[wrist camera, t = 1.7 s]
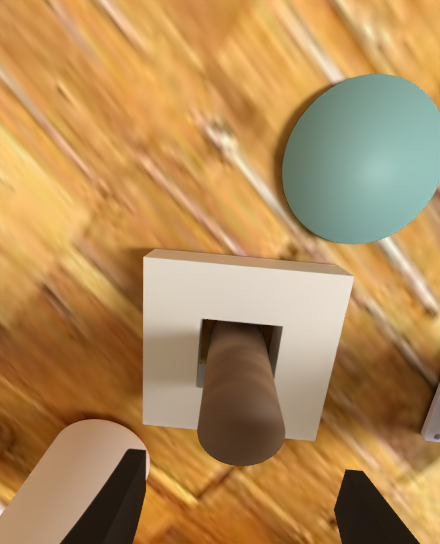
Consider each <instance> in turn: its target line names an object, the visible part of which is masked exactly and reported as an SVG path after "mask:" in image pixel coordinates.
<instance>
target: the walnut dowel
mask: <svg viewBox="0 0 440 544" xmlns="http://www.w3.org/2000/svg"><path fill="white" fill-rule="evenodd" d="M197 434H198V439H199V442H200V444H201V446H202V447H203V448H204V450H205V451H206V452H207V453H208V454H209V455H210V456H212V457H213V458H215V459H216V460H218V461H220V462H223V463H226V464H229V465H235V466H249V465H255V464H258V463H261V462H264V461H266V460H268V459H269V458H271V457H272V456H273V455H274V454H276V453H277V451H278V450H279V449H280V447H281V446H282V444H283V442H284V438H285V425H284V421H283V417H282V412H281V408H280V404H279V400H278V396H277V391H276V387H275V383H274V379H273V374H272V370H271V366H270V362H269V358H268V353H267V349H266V345H265V341H264V336H263V332H262V329H261V327H260V325H259V324H254V323H244V322H233V321H222V320H218V321H217V322H216V323H215V324H214V326H213V327H212V330H211V334H210V341H209V348H208V356H207V363H206V370H205V377H204V384H203V391H202V399H201V406H200V413H199V420H198V427H197Z"/></svg>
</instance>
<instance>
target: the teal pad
mask: <svg viewBox="0 0 440 544" xmlns="http://www.w3.org/2000/svg"><path fill="white" fill-rule="evenodd" d="M439 182H440V113H439V111H438V109H437V107H436V105H435V104H434V103H433V101H432V100H431V98H430V97H429V96H428V95H427V94H426V93H425V92H424V91H423V90H422V89H420V88H419V87H418V86H416V85H415V84H413V83H411V82H409V81H407V80H406V79H403V78H400V77H397V76H392V75H386V74H369V75H362V76H358V77H354V78H351V79H348V80H346V81H344V82H341V83H339V84H337V85H335V86H334V87H332V88H330V89H329V90H327V91H326V92H325V93H323V94H322V95H321V96H320V97H318V98H317V99H316V100H315V101H314V102H313V103H312V104H311V105H310V106H309V107H308V109H307V110H306V111H305V112H304V113H303V115H302V116H301V117H300V119H299V120H298V122H297V123H296V125H295V126H294V128H293V130H292V132H291V134H290V136H289V139H288V141H287V144H286V147H285V151H284V156H283V161H282V184H283V189H284V193H285V197H286V200H287V202H288V204H289V207H290V209H291V210H292V212H293V213H294V215H295V217H296V218H297V219H298V220H299V221H300V222H301V224H303V225H304V226H305V227H306V228H307V229H308V230H310V231H311V232H313V233H314V234H316V235H318V236H320V237H322V238H325V239H327V240H330V241H333V242H336V243H342V244H364V243H369V242H374V241H377V240H380V239H383V238H386V237H388V236H390V235H392V234H394V233H396V232H397V231H399V230H400V229H402V228H403V227H405V226H406V225H407V224H409V223H410V222H411V221H412V220H413V219H414V218H415V217H416V216H417V215H418V214H419V213H420V212H421V211H422V210H423V209H424V207H425V206H426V205H427V204H428V202H429V201H430V199H431V198H432V196H433V194H434V192H435V191H436V189H437V187H438V185H439Z"/></svg>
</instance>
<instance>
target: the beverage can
mask: <svg viewBox="0 0 440 544" xmlns="http://www.w3.org/2000/svg"><path fill="white" fill-rule="evenodd" d="M129 448H130V449H141V450H146V480H147V476H148V473H149V469H150V458H149V454H148V451H147V449H146V447H145V445H144V443H143V442H142V441H141V440H140V438H139V437H138V436H137V435H136V434H134V433H133V432H132V431H131V430H129V429H127V428H126V427H124V426H122V425H120V424H117V423H114V422H111V421H107V420H100V419H89V420H82V421H78V422H75V423H73V424H71V425H69V426H67V427H66V428H65V429H63V430H62V431H61V432H60V433H59V434H58V436H57V437H56V439H55V440H54V441H53V443H52V444H51V446H50V447H49V448H48V450H47V451H46V453H45V454H44V455H43V457H42V458H41V460H40V461H39V462H38V464H37V465H36V467H35V468H34V469H33V471H32V472H31V474H30V475H29V476H28V478H27V479H26V481H25V482H24V483H23V485H22V486H21V488H20V489H19V490H18V492H17V493H16V495H15V496H14V497H13V499H12V500H11V502H10V503H9V504H8V506H7V507H6V509H5V510H4V511H3V513H2V514H1V516H0V544H60V543H61V541H62V540H63V539H64V537H65V536H66V535H67V534H68V532H69V531H70V530H71V529H72V527H73V526H74V525H75V524H76V522H77V521H78V520H79V518H80V517H81V516H82V514H83V513H84V512H85V510H86V509H87V508H88V506H89V505H90V504H91V502H92V501H93V499H94V498H95V497H96V495H97V494H98V493H99V491H100V490H101V488H102V487H103V486H104V484H105V483H106V481H107V480H108V478H109V477H110V475H111V474H112V472H113V471H114V469H115V468H116V466H117V465H118V463H119V462H120V460H121V459H122V457H123V455H124V454H125V452H126V451H127V450H128V449H129Z"/></svg>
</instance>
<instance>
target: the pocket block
mask: <svg viewBox="0 0 440 544" xmlns="http://www.w3.org/2000/svg"><path fill="white" fill-rule="evenodd" d="M353 280H354V276H353V275H352V274H350V273H349V272H347V271H346V270H344V269H343V268H341V267H340V266H338V265H332V264H321V263H310V262H299V261H288V260H277V259H266V258H255V257H244V256H233V255H222V254H211V253H200V252H189V251H178V250H167V249H156V248H155V249H154V250H152V251H151V252H150V253H148V254H147V255H145V256H144V257H143V425H154V426H164V427H174V428H184V429H194V430H197V427H198V420H199V413H200V406H201V399H202V391H203V384H204V377H205V370H206V365H204V364H200V356H201V342H202V329H203V319H212V320H222V321H233V322H244V323H254V324H265V325H274V326H273V333H272V339H271V345H270V352H269V362H270V366H271V370H272V374H273V379H274V383H275V387H276V391H277V396H278V400H279V404H280V408H281V412H282V417H283V421H284V425H285V438H286V439H297V440H307V441H315V439H316V435H317V431H318V427H319V423H320V418H321V414H322V410H323V406H324V402H325V398H326V393H327V389H328V385H329V381H330V377H331V372H332V368H333V364H334V360H335V356H336V351H337V347H338V343H339V339H340V335H341V331H342V326H343V322H344V318H345V314H346V310H347V305H348V301H349V297H350V293H351V289H352V284H353Z"/></svg>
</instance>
